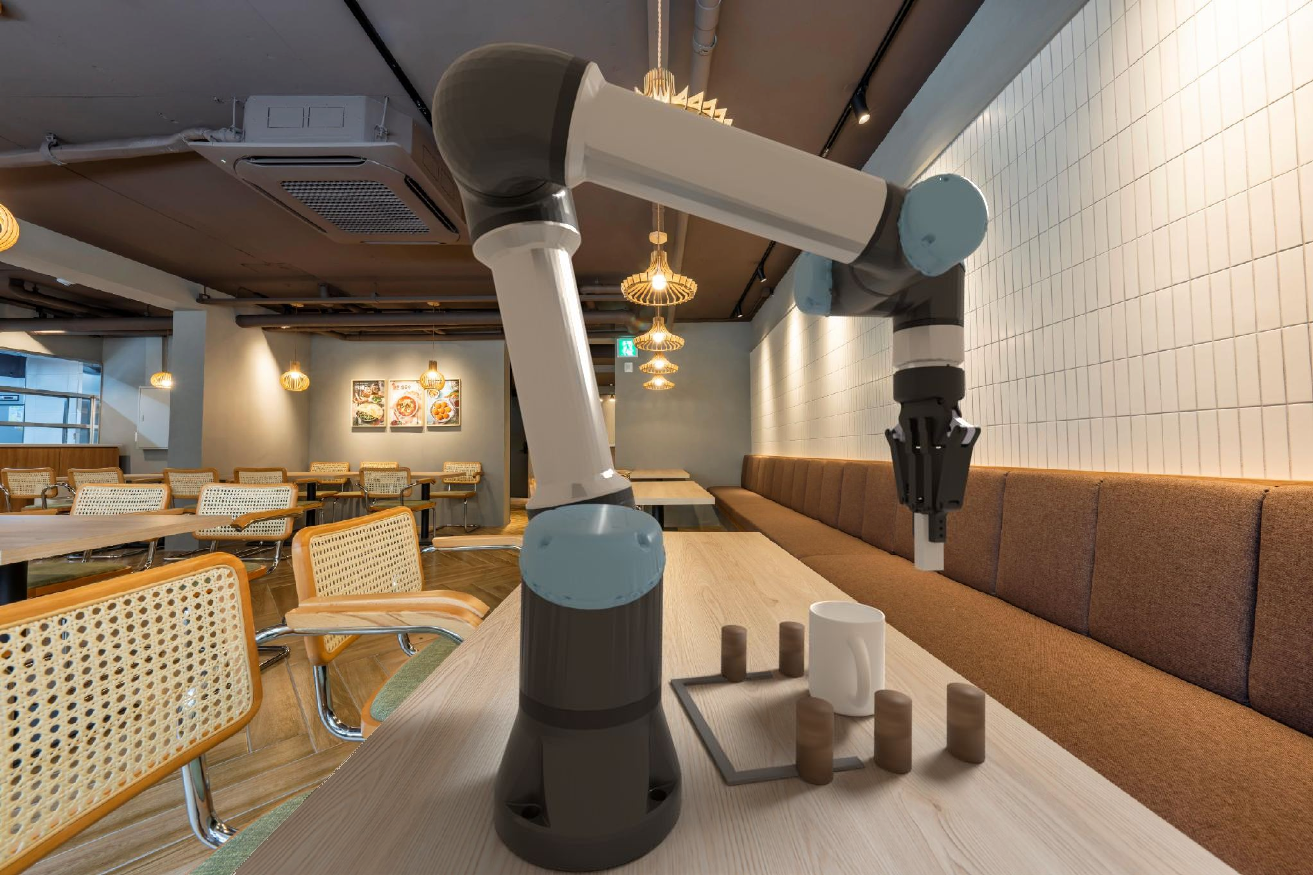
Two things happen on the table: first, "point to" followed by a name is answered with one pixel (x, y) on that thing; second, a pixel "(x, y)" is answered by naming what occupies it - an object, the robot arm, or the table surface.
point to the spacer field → (888, 712)
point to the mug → (846, 655)
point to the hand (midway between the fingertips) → (929, 568)
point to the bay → (716, 749)
